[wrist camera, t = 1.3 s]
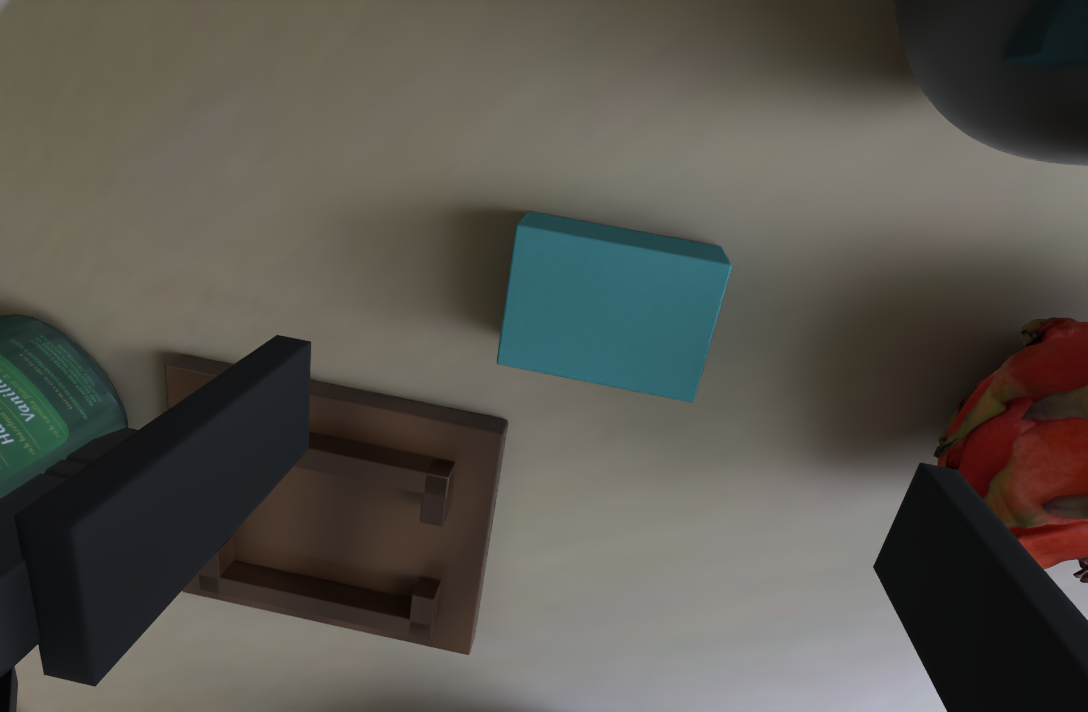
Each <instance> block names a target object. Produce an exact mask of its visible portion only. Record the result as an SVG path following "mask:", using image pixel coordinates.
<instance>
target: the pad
mask: <svg viewBox="0 0 1088 712" xmlns="http://www.w3.org/2000/svg"><path fill="white" fill-rule="evenodd" d="M731 268H732V265H731V263H730V261H729V259H728V258H727V256H726V254H725V252H724V250H723V249H722V247H720V246H715V245H710V244H704V243H699V242H694V241H688V240H683V239H677V238H672V237H667V236H661V235H656V234H650V233H645V232H640V231H634V230H629V229H623V228H618V227H613V226H607V225H602V224H596V223H591V222H586V221H580V220H575V219H569V218H564V217H559V216H553V215H548V214H542V213H537V212H532V211H528V212H527V213H526V215H525V216H524V217H523V218H522V219H521V221H520V222H519V223H518V224H517V226H516V230H515V237H514V244H513V251H512V258H511V265H510V272H509V279H508V286H507V293H506V300H505V307H504V314H503V321H502V328H501V335H500V342H499V349H498V356H497V364H500V365H505V366H510V367H515V368H520V369H525V370H530V371H535V372H540V373H545V374H550V375H555V376H560V377H565V378H571V379H576V380H581V381H586V382H591V383H596V384H601V385H606V386H611V387H616V388H621V389H626V390H631V391H636V392H641V393H646V394H651V395H656V396H662V397H667V398H672V399H677V400H682V401H687V402H693V401H694V399H695V396H696V392H697V389H698V385H699V382H700V378H701V375H702V371H703V367H704V364H705V360H706V357H707V353H708V350H709V346H710V343H711V339H712V335H713V332H714V328H715V325H716V321H717V318H718V314H719V311H720V307H721V304H722V300H723V296H724V293H725V289H726V286H727V282H728V279H729V275H730V272H731Z"/></svg>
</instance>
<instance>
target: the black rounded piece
mask: <svg viewBox="0 0 1088 712" xmlns="http://www.w3.org/2000/svg"><path fill="white" fill-rule="evenodd" d="M894 4H895V14H896V22H897V27H898V33H899V37H900V41H901V44H902V48H903V51H904V54H905V57H906V59H907V62H908V64H909V67H910V69H911V71H912V73H913V75H914V77H915V79H916V81H917V83H918V84H919V86H920V88H921V89H922V91H923V92H924V94H925V95H926V96H927V98H928V99H929V101H930V102H931V103H932V104H933V105H934V107H935V108H936V109H937V110H938V111H939V112H940V113H941V114H942V115H943V116H944V117H945V118H946V119H947V120H948V121H949V122H951V123H952V124H953V125H954V126H956V127H957V128H958V129H960V130H961V131H962V132H964V133H965V134H967V135H968V136H970V137H972V138H973V139H975V140H977V141H979V142H981V143H983V144H985V145H987V146H989V147H992V148H994V149H996V150H999V151H1002V152H1005V153H1008V154H1012V155H1015V156H1019V157H1023V158H1028V159H1033V160H1038V161H1044V162H1050V163H1058V164H1068V165H1084V166H1088V0H894Z"/></svg>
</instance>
